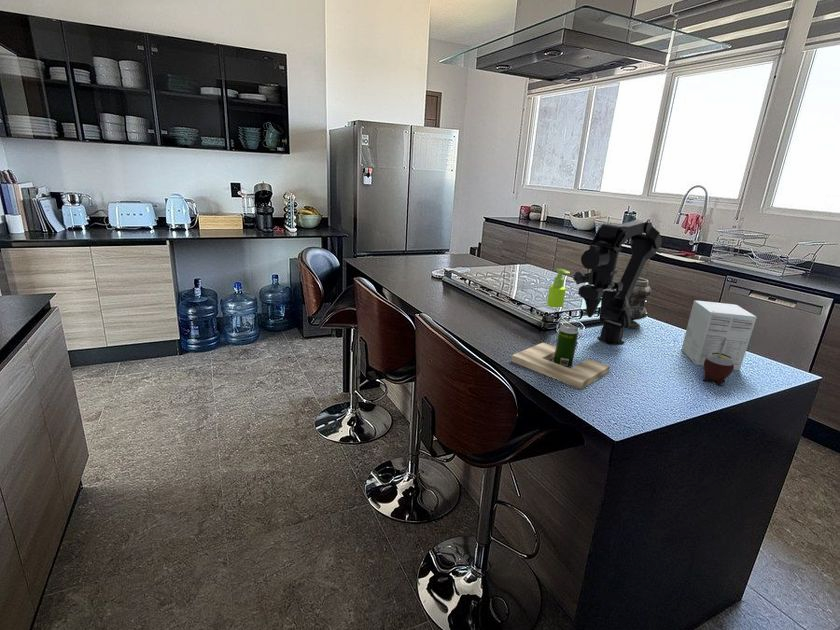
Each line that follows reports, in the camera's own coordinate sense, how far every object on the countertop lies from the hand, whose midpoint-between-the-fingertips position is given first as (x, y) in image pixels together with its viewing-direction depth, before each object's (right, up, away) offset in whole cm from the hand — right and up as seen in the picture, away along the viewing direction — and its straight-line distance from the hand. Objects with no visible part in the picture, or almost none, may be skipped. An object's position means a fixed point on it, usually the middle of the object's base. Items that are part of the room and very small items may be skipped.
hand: (596, 314), depth 145 cm
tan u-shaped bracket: (-15, -15, -11) cm, 24 cm away
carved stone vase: (+23, -4, +31) cm, 39 cm away
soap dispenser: (-5, -3, +30) cm, 30 cm away
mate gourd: (+28, -20, -14) cm, 37 cm away
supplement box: (+37, -15, +2) cm, 40 cm away
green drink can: (-14, -15, -10) cm, 23 cm away
